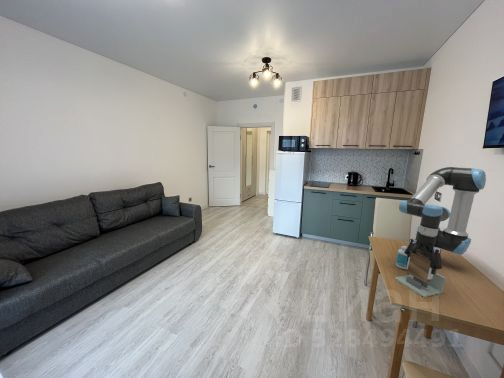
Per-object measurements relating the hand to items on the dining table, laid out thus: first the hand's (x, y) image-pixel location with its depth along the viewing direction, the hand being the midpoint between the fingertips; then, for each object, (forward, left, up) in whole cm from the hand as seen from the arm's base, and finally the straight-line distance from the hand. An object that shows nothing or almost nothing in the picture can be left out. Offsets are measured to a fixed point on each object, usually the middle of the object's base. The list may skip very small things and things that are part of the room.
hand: (418, 273), depth 114 cm
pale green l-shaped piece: (-1, 0, -8) cm, 8 cm away
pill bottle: (-12, -17, -8) cm, 22 cm away
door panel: (0, 0, -2) cm, 2 cm away
